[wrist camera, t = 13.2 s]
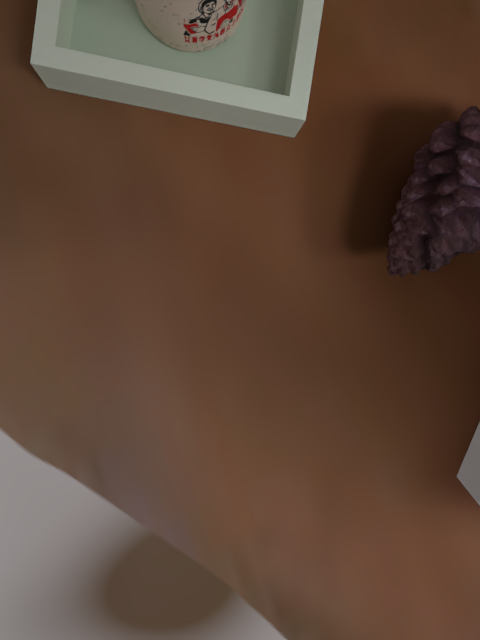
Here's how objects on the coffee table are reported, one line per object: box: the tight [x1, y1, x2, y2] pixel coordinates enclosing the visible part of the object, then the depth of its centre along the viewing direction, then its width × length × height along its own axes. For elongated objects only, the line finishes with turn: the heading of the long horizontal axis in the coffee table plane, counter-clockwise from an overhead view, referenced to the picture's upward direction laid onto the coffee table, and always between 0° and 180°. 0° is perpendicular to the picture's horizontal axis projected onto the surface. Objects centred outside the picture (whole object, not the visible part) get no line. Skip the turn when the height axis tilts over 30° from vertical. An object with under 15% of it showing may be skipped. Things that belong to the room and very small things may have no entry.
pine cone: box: [387, 106, 480, 277], centre depth 32 cm, size 18×10×10 cm, turn 134°
